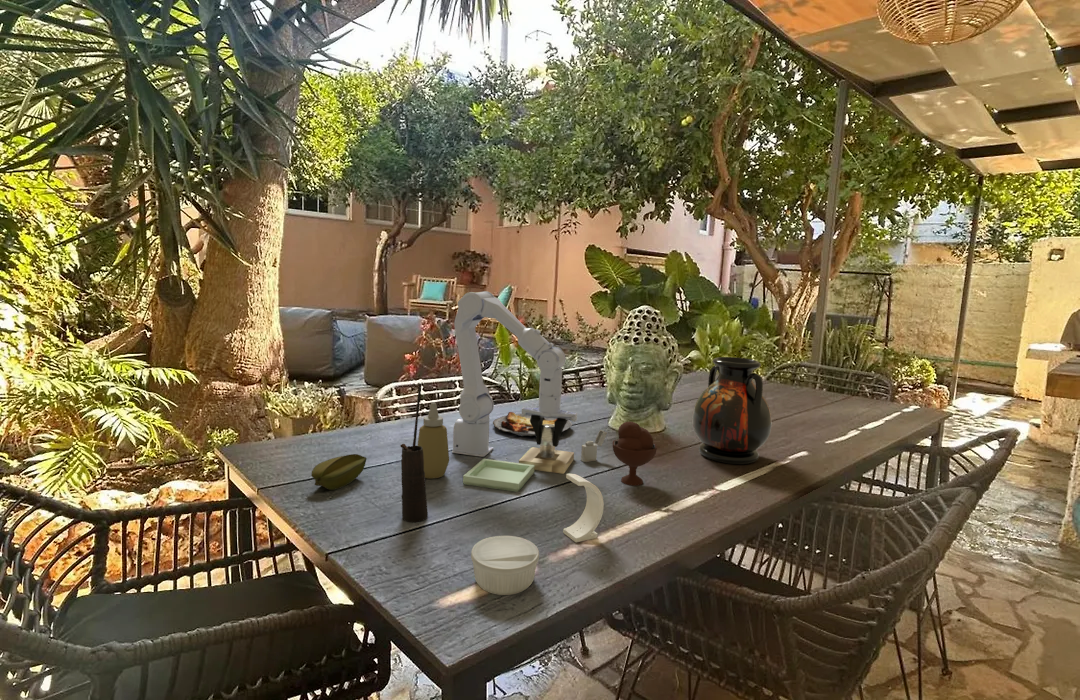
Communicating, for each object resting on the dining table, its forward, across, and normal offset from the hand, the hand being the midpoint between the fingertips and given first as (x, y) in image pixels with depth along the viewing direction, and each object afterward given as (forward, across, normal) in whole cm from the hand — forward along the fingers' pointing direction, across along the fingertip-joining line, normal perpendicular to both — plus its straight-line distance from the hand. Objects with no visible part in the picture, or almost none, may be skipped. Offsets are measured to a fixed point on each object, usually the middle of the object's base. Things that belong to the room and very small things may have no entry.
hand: (547, 444), depth 154 cm
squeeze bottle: (+5, -24, -19) cm, 31 cm away
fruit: (+6, -41, -32) cm, 52 cm away
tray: (+5, -8, -15) cm, 18 cm away
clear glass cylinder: (+3, 0, 0) cm, 3 cm away
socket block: (+5, 0, 0) cm, 5 cm away
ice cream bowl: (+5, +23, -5) cm, 24 cm away
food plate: (+6, -13, +31) cm, 34 cm away
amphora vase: (+5, +47, +26) cm, 54 cm away
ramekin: (+5, +8, -59) cm, 60 cm away
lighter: (+5, +11, +8) cm, 15 cm away
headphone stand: (+5, +17, -38) cm, 42 cm away
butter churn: (+5, -18, -42) cm, 46 cm away
